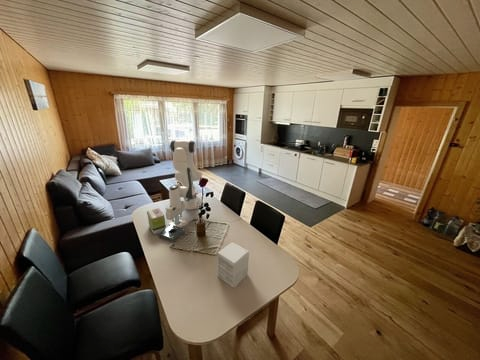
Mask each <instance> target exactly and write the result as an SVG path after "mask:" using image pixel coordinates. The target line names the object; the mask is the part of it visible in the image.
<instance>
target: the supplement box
mask: <svg viewBox="0 0 480 360" xmlns="http://www.w3.org/2000/svg"><path fill="white" fill-rule="evenodd" d="M249 255H250V251H249V250H248V249H246V248H245V247H244V248H243V247H242V246H240V245H239V244H237V243H235V242H233V241H231V243H228V244H227V245H226V246H224V247H223V248H221V249H220V250H219V251H218V252H217V277H218V278H220V279H221V280H222V281H224V282H225V283H226V284H227V285H229V286H230V287H231V288H233V289H235V288H236V287H237V286H238V285H239V284H240V283H241V282H242V281H243V280H244V279H245V278H246V277H247V276H248V275H249V257H250V256H249Z"/></svg>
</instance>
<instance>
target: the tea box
mask: <svg viewBox="0 0 480 360" xmlns="http://www.w3.org/2000/svg"><path fill="white" fill-rule="evenodd" d="M146 215H147V221H148V226H149V229H150V230H151V232H152V234H153V235H157V234H159V233H160V232H162V231H163V230H165V229H166V228H167V227H166V216H165V214H164V213H163V212H162V211H161V209H160V208H159V207H158V208H155V209H151V210H147V211H146Z"/></svg>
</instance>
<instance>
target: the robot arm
mask: <svg viewBox="0 0 480 360" xmlns="http://www.w3.org/2000/svg"><path fill="white" fill-rule="evenodd" d="M169 143H170V144H169V147H170V148H169V149H170V151H172V166H173V169H174V170H175V174H174V179H175V180H176V181H177V182H178V183H180V184H181V185H179V184H178V185H177V184H173V185H171V186H169V187H168V188H169V189H168V196H169V203H168V205H167V206H166V207H165V220H168V221H171V222H175V217H176V216H177V214H179V219H180V218H182V215H183V213H184V212H185V211H186V210H190V211H191V210H195V209H196V210H197V208H198V209H199V208H200V207H201V206H202V205H201V201H202V200H201V197H200V196H198V194H199V192H196V186H195V184H194V182H198V181H201V180H200V178H201V179H202V178H203V173H202V172H201V170H199V169H197V167H196V166H195V163H194V153H195V152H196V149H197V143H196V142H195V141H194V140H191V139H190V140H187V139H173V140H171V141H170V142H169ZM181 198H182V199H183V200H182V199H181ZM200 205H201V206H200ZM199 206H200V207H199Z"/></svg>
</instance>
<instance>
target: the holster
mask: <svg viewBox="0 0 480 360" xmlns="http://www.w3.org/2000/svg"><path fill="white" fill-rule="evenodd" d="M179 222H180V223H179V224H178V225H177V224H175V222H172V221H170V222H169V223H168V227H169V226H170V225H174V226H177V227H181V228H183V227H184V226H186V225H187V221H186V220H183V219H180V218H179Z"/></svg>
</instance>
